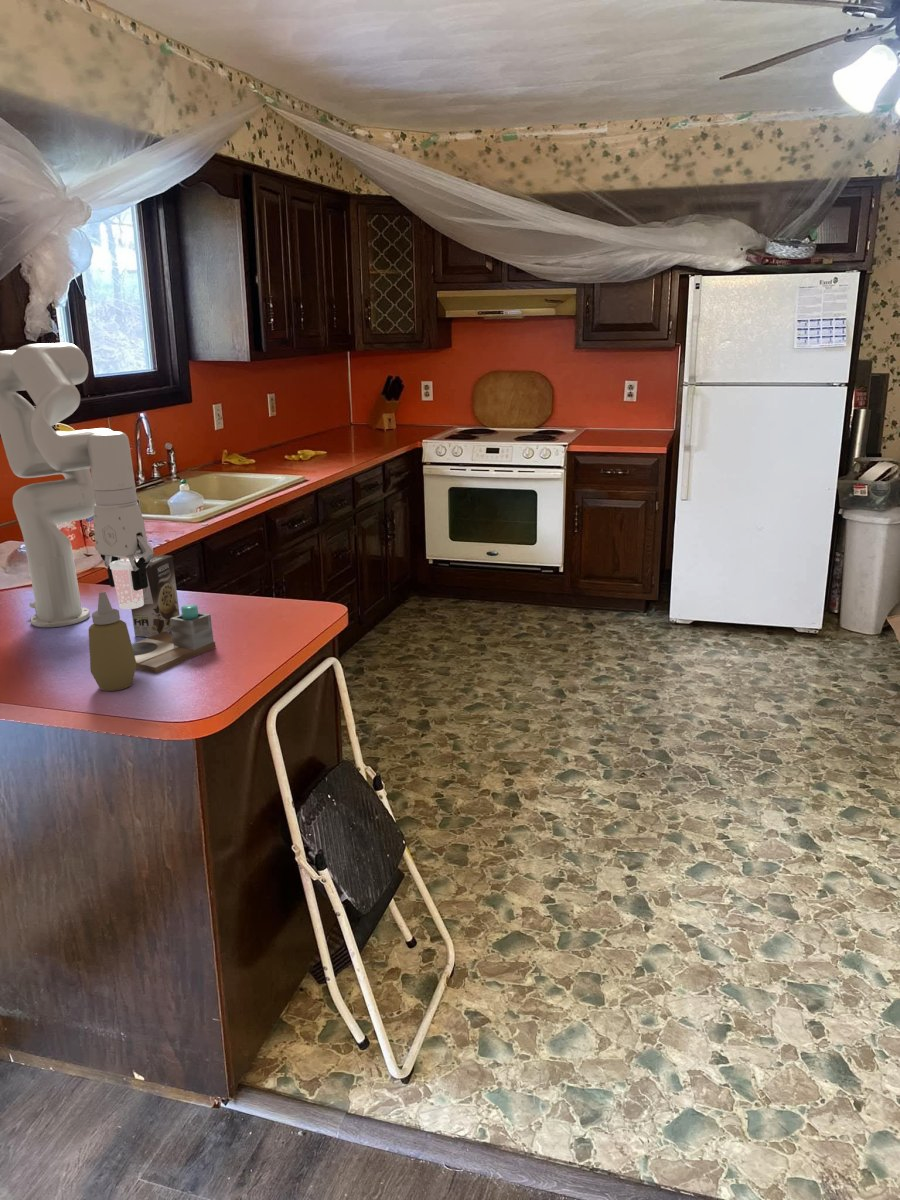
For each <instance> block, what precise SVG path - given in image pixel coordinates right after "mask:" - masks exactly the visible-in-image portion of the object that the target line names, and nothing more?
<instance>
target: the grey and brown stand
mask: <svg viewBox="0 0 900 1200" xmlns="http://www.w3.org/2000/svg"><path fill="white" fill-rule="evenodd" d="M198 615H199V617H198V618H196V619H193V620H184V619H182V613H181V614H180V615H178V616H176V617H173V618H170V621H171V629H172V630H171V632H168V633H167V632H162V633H159V634H157V635H154V636H151V637H145V638H144V639H141V640H138V641H137V642H134V643H131V644H132V648H133V652H134V656H135V660H136V669H135V670H141V671H145V672H149V673H153V674H158V673H160V672H162V671H165V670H167V669H169V668H171V667H173V666H176V665H179V664H180V663H181V664H182V662H185V661H187V660H189V659H192V658H194V657H196V656H197V657H198V656H199V655H201V654H203V653H206V652H208V651H210V650H213V649H215V648H216V647H217V646H216V641H214V632H213V625H212V624H213V623H212V617H211V616H212V615H211V614H210V613H205V612H200V611H198Z"/></svg>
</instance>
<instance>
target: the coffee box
mask: <svg viewBox="0 0 900 1200" xmlns="http://www.w3.org/2000/svg"><path fill="white" fill-rule="evenodd" d="M174 566H175V565H174V558H173V555H167V554H166V555H165V554H160V555H153V556H152V557H151V559H150V561H149V563H148V567H147V568H146V574H147V581H148V587H147V588H144V589H143V600H144V605H143V606H142V607H139V608H135V609H130V610H131V617H132V625H133V632H134V636H135V637H145V638H149V637H151V636H154V635H157V634H159V633H162V632H167V633H170V632H172V629H171V621H170V618H173V617H176V616H178V615H181V614H180V605H179V599H178V592H177V584H176V574H175V567H174ZM169 631H170V632H169Z"/></svg>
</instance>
